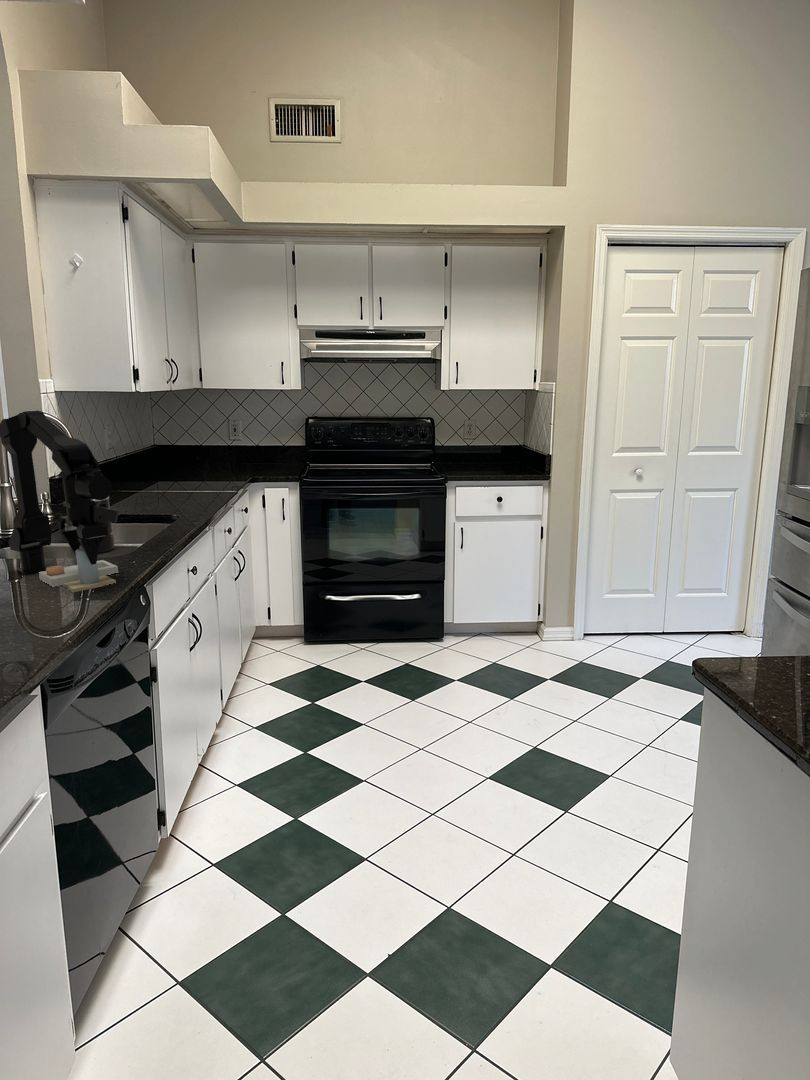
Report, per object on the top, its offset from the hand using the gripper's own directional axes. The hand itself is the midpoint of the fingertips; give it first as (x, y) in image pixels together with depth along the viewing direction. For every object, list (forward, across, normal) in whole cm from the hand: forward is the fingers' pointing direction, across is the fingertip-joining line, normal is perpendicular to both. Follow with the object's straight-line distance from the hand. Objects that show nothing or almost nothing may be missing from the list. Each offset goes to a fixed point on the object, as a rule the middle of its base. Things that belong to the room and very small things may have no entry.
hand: (86, 561), depth 181 cm
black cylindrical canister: (+6, +36, -15) cm, 40 cm away
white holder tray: (+6, +10, -1) cm, 12 cm away
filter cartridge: (+5, 0, 0) cm, 5 cm away
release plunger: (+5, +10, +4) cm, 12 cm away
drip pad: (+6, 0, 0) cm, 6 cm away
